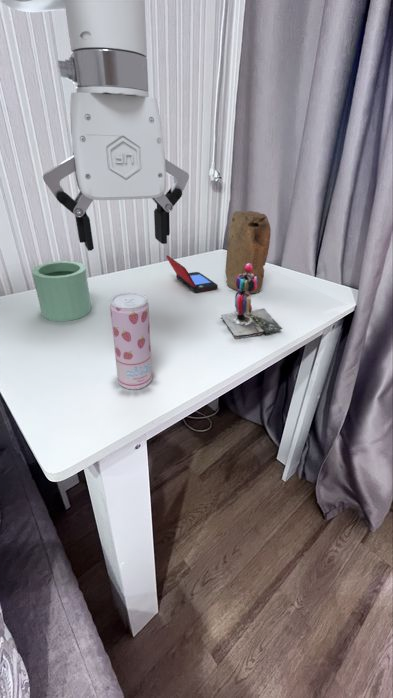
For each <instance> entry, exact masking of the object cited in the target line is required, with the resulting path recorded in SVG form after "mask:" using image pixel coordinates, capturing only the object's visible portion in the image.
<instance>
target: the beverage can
mask: <svg viewBox="0 0 393 698" xmlns="http://www.w3.org/2000/svg"><path fill="white" fill-rule="evenodd" d="M109 303H110V304H109V311H110V318H111V319H110V320H111V328H112V329H111V330H112V338H113V348H114V349H113V350H114V355H115V356H114V357H115V358H114V359H115V368H116V377H117V382H118V384H119V385H120V386H121V387H123V388H124V389H126V390H133V391H135V390H140V389H143V388H145V387H147V386H148V385H149V384H150V383H151V382H152V378H153V374H152V373H153V372H152V351H151V350H152V349H151V347H152V346H151V329H150V328H151V327H150V326H151V325H150V306H149V305H150V304H149V302H148V298H147V296H146V295H144V294H143V293H141V292H135V291H127V292H120V293H117V294H115V295H113V296H112V297H111V299H110V302H109Z"/></svg>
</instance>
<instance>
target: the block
mask: <svg viewBox="0 0 393 698" xmlns="http://www.w3.org/2000/svg"><path fill="white" fill-rule="evenodd" d="M271 231H272V230H271V224H270V221H269V219H268V216H267V215H266V214H265V213H261V212H259V211H252V210H248V211H247V210H246V211H245V210H236V211H233V213H232V215H231V219H230V225H229V233H228V239H227V247H226V256H225V257H226V258H225V259H226V260H225V272H224V273H225V277H226V284H227V286H228V287H229V288H230V289H231V290H234V291H236V292H238V291H240V290H237V287H236V279H237V276H238V275H240V274H242V275H243V274H244V273H246V271H245V266H246V264H248V263H250V264H251V265H252V271H251V273H250V274H253V275H254V276H255V275H256V276H257V277H258V280H257V289H256V290H253V291H251V292H250V294H256V293H258V292H260V291H261V290H262V287H263V283H264V276H265V268H264V267H265V265H266V263H267V259H268V254H269V250H270V244H271V243H270V242H271V236H272V235H271V234H272V233H271Z"/></svg>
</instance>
